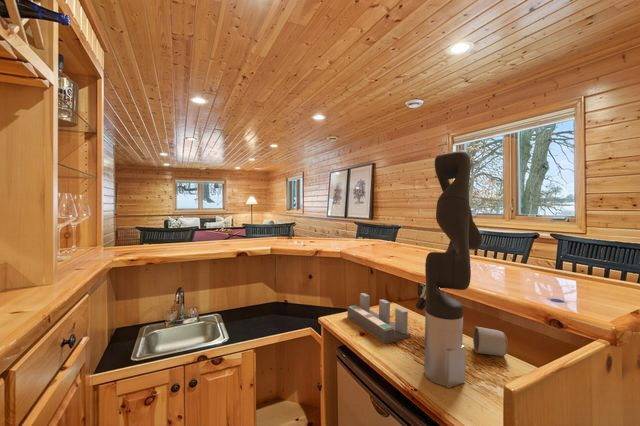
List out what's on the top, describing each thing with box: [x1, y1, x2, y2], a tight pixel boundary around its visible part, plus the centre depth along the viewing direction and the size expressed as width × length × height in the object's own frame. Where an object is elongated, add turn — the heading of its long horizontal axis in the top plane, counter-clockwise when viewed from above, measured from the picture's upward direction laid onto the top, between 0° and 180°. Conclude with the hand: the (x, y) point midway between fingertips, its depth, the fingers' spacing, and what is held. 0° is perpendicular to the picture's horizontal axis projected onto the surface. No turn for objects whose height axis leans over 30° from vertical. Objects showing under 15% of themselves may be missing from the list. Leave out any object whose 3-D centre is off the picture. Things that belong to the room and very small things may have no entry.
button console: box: [347, 304, 412, 344], centre depth 109 cm, size 24×11×5 cm, turn 25°
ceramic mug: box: [472, 326, 509, 357], centre depth 92 cm, size 11×8×8 cm
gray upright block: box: [378, 299, 391, 323], centre depth 111 cm, size 4×2×8 cm, turn 25°
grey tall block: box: [394, 307, 409, 334], centre depth 102 cm, size 4×2×8 cm, turn 25°
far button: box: [359, 292, 371, 313], centre depth 118 cm, size 4×2×8 cm, turn 25°
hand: (418, 308), depth 105 cm, fingers closed
